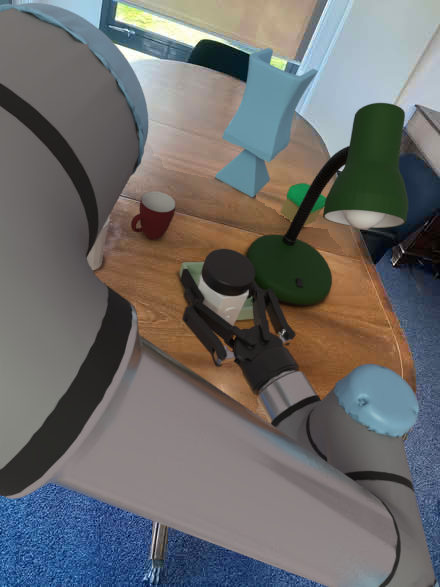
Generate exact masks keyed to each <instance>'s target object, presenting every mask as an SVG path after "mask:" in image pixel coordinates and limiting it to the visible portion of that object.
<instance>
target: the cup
mask: <svg viewBox="0 0 440 587" xmlns="http://www.w3.org/2000/svg"><path fill="white" fill-rule="evenodd" d="M110 220H111V218H110V216H109V217H108V219H107V221H106V222H105V224H104V226H103V228H102V230H101V232H100V234H99V236H98V238H97V240H96V242H95V244H94V246H93V248H92V249H91V251H90V253H89V254H88V256H87V261H88V263H89V266H90V267H91V269H92V270H93V271H95V270H98V269H99V268H100V267H101V266H102V265H103V259H104V251H105V245H106V239H107V235H108V230H109V225H110Z"/></svg>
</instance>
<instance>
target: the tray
mask: <svg viewBox="0 0 440 587" xmlns="http://www.w3.org/2000/svg"><path fill="white" fill-rule="evenodd" d="M204 262H205V261H182V262H181V265H180V269H179V273H178V274H179V277H180V278H181V275H182V272H183V269H188V270H189V272H190V274H191V276H192V277H193V279H194V281H195V283H196V284H197V282H198V279H199V276H200V273H201V270H202V267H203V264H204ZM183 289H184V288H183ZM184 291H185V289H184ZM251 299H252V296H251V298H248V299H246V301H245V303H244V305H243V307H242V309H241V311H240V313H239V315H238V317H237V319H236V321H243V320H254V317H253V306H252V301H251Z"/></svg>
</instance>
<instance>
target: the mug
mask: <svg viewBox="0 0 440 587" xmlns="http://www.w3.org/2000/svg"><path fill="white" fill-rule="evenodd" d="M176 206H177V203H176V200H175V199H174V198H173V197H172V196H171V195H170V194H168V193H165V192H163V191H159V190H149V191H146V192H144V193H143V194H142V195H141V197H140V201H139V213H138V214H136V215H135V216H134V217H133V218H132V220H131V222H130V227H131V230H132V231H133V232H134V233H143V235H144V236H145V238H147V239H149V240H151V241H157V240H159V239H160V238H162V237H163V236H164V235H165V234H166V233H167V231H168V229H169V227H170V225H171V223H172V221H173V217H174V215H175V211H176ZM138 223H139V226H140V227H137V225H138Z"/></svg>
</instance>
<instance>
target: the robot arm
mask: <svg viewBox="0 0 440 587" xmlns="http://www.w3.org/2000/svg"><path fill="white" fill-rule="evenodd" d="M148 134H149V112H148V104H147V101H146V96H145V93H144V90H143V88H142V84H141V82H140V80H139V78H138V76H137V74H136V72H135V70H134V69H133V66H132V65H131V64H130V62H129V61H128V59H127V57H126V56H125V55H124V54H123V52H122V51H121V50H120V48H119V47H118V46H117V45H116V44H115V43H114V42H113V40H112V39H111V38H110V37H108V36H107V35H106V34H105V33H104V32H103V31H102V30H101V29H99V28H98V27H97V26H96V25H94V24H93V23H92V22H90V21H89V20H87V19H86V18H84V17H82V16H80V15H79V14H77V13H75V12H73V11H71V10H68V9H66V8H63V7H60V6H57V5H52V4H48V3H42V2H27V3H21V4H12V3H5V4H0V497H4V498H6V499H12V500H15V499H21V498H23V497H26V496H27V495H30V494H32V493H34V492H36V491H37V490H40V489H41V488H43V487H45V486H47V485H48V484H53V485H56V486H59V487H62V488H65V489H66V490H70V491H72V492H75V493H77V494H80V495H83V496H86V497H88V498H91V499H93V500H96V501H98V502H101V503H104V504H106V505H109V506H112V507H115V508H117V509H120V510H123V511H125V512H128V513H131V514H133V515H136V516H139V517H142V518H144V519H146V520H149V521H153V522H154V523H157V524H160V525H163V526H165V527H168V528H171V529H172V530H176V531H179V532H181V533H184V534H186V535H189V536H192V537H194V538H198V539H200V540H202V541H205V542H208V543H211V544H213V545H216V546H219V547H221V548H225V549H226V550H229V551H232V552H235V553H237V554H240V555H243V556H246V557H248V558H250V559H254V560H257V561H259V562H261V563H264V564H267V565H269V566H272V567H274V568H277V569H279V570H283V571H286V572H287V573H291V574H293V575H297V576H299V577H301V578H304V579H307V580H309V581H312V582H315V583H318V584H320V585H323V586H325V587H440V585H439V580H438V579H437V577H436V575H435V571H434V570H435V569H434V567H433V563H432V559H431V554H430V550H429V547H428V542H427V537H426V534H425V530H424V526H423V521H422V518H421V517H422V516H421V513H420V510H419V506H418V500H417V496H416V493H415V488H414V483H413V479H412V473H411V470H410V464H409V461H408V457H407V451H406V449H405V445H404V439H403V436H404V435H406V434H408V433H409V431H410V429H412V428H413V427H414V425H416V424H417V420H418V416H419V411H420V406H419V401H418V398H417V396H416V393H415V391H414V390H413V387H411V385H410V384H409V383H408V382H407V381H406V380H405V379H404V377H402V376H401V375H400V374H398V373H397V372H396V371H394V369H391V368H389V367H386V366H383V365H380V364H375V363H364V364H360V365H358V366H356V367H355V368H353V369H352V370H351V371H350V372H349V373H348V374H346V375H345V376H344V377H342V378H341V379H338V380H337V381H336V382H335V385H334V386H333V387H332V389H331V390H330V391H328V393H327V394H326V395H325V396H324V397H323V398H322V399H321V397H320V396H319V394H318V393H317V391H316V389H315V388H314V386H313V385H312V383H311V382H310V380H309V378H308V377H307V376H306V374H305V372H304V371H302V370H299V369H300V365H299V364H298V362H297V361H296V360H295V358H294V356H293V355H292V353H291V352H290V350H289V349H288V348H287V347H286V346H290V345H291V343H292V342H293V340H294V339H295V337H296V335H297V334H296V332H295V331H294V330H293V328H292V327H291V326H290V325H289V323H288V321H287V318H286V316H285V314H284V312H283V309H282V307H281V305H280V304H281V303H279V302H278V300H277V297H276V295H275V293H274V291H273V290H272V289H268V290H263V289H261V288H259V287H258V285H257V284H256V282H255V281H253V283H252V285H251V287H250V288H249V294H248V297H247V299H248V298H251V296H252V299H251V301H252V306H253V317H254V319H253V325H252V326H251V327H250V328H240V327H238V326H237V325H235V324H234V326H232V325H231V324H230V323H228V322H227V321H226V320H224V319H223V318H222V317H220V316H219V315H218V314H216V313H215V312H214V311H212V310H211V309H210V308H208V307H207V306H206V305H204V304H203V300H204V297H203V295H202V293H201V291H200V290H199V288H198V286H197V284H196V283H195V281H194V279H193V277H192V276H191V274H190V272H189V270H188V269H183V272H182V275H181V277H180V279H179V281H180V283H181V285H182V287H183V289H185V290H184V291H183V299H184V300H185V302H186V304H187V305H188V306H187V305H186V306H185V308H184V311H183V314H182V318H181V320H182V321H183V323H184V324H185V325H186V327H187V328H189V330H190V332H192V334H193V335H194V336H195V337H196V338H197V339H198V341H199V342H200V343H201V344H202V345H203V347H204V349H206V351H207V352H208V353H209V354H210V356H211V358H212V361H213V364H214V366H216V367H217V368H221V367H222V366H223V365H224V363H225V364H226V363H230V362H231V363H232V362H233V363H234V364H235V365H237V366H239V368H240V370H241V373H242V377H243V379H244V380H245V382H246V384H247V385H248V387H249V389H250V391H251V392H252V394H253V395H255V396H257V398H256V401H257V403H258V404H259V406H260V409H261V410H262V412H263V413H264V416H265V417H266V419H267V420H265V419H264V418H262V417H261V416H260V415H258V414H257V413H256V412H254V411H253V410H251V409H249V408H248V407H246V406H245V405H243V404H242V403H241V402H239V401H238V400H236V399H235V398H233V397H232V396H230V395H229V394H227V393H226V392H225V391H223V390H221V389H220V388H218V387H217V386H216V385H214V384H213V383H211V382H210V381H208V380H207V379H205V378H204V377H202V376H201V375H200V374H198V373H196V371H193V370H192V369H190V367H188V366H186V365H185V364H183V363H182V362H181V361H179V360H178V359H176V358H175V357H173V356H171V355H170V354H168V353H167V352H166V351H164V350H163V349H161V348H160V347H159V346H157V345H155V344H154V343H153V342H151V341H150V340H148V339H147V338H145V337H144V336H142V335H141V334H140V330H139V318H138V311H137V309H136V307H135V305H134V304H132V302H131V301H129V300H128V299H127V298H125V297H124V296H122V295H121V294H120V293H118V292H117V291H115V289H113V288H111V287H110V286H108V285H107V284H106V283H105V282H103V281H102V280H101V279H100V278H99V277H98V276H97V275H96V273H95V272H94V270H92V269H91V267H90V266H89V263H88V261H87V256H88V254H89V253H90V251H91V249H92V248H93V246H94V244H95V242H96V240H97V238H98V236H99V234H100V232H101V230H102V228H103V226H104V224H105V222H106V221H107V219H108V217H110V215H111V213H112V212H113V210H114V207H115V206H116V204H117V202H118V201H119V198H120V197H121V195H122V193H123V191H124V189H125V188H126V186H127V184H128V182H129V180H130V178H131V177H132V176H133V175H135V173H136V171H137V169H138V168H139V166H140V165H141V164H142V159H143V156H144V154H145V146H146V144H147V140H148ZM267 316H268V318H269V319H268V318H267ZM269 321H270V323H271V326H272V329H273V331H274V333H272V332H271V331H270V323H269ZM221 339H222V340H223V342H224V343H223V342H222V341H221ZM224 344H225V345H224ZM228 348H230V349H231V350H230V349H228Z"/></svg>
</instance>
